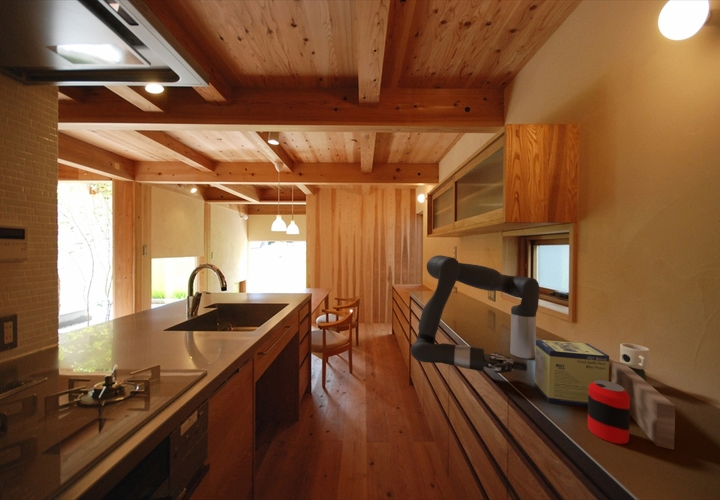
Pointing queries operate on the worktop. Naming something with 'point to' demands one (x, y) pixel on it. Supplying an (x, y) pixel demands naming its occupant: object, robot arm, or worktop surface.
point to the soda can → (608, 411)
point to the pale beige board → (647, 406)
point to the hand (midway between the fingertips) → (526, 367)
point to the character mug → (635, 358)
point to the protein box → (568, 371)
